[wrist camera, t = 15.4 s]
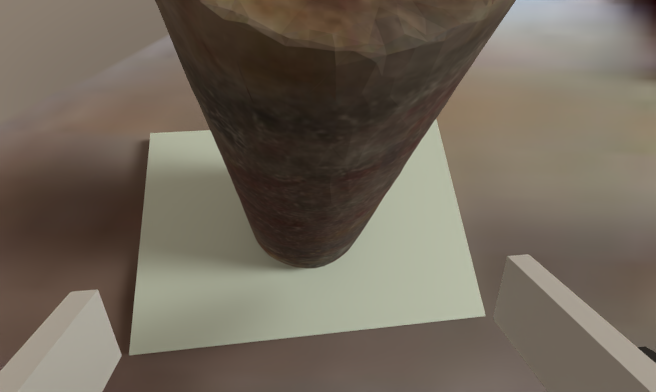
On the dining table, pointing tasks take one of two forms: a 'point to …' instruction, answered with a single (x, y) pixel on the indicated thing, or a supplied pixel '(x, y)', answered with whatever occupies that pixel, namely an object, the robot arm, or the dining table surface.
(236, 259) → the sage board
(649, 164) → the dining table surface
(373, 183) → the rusty metal cylinder
